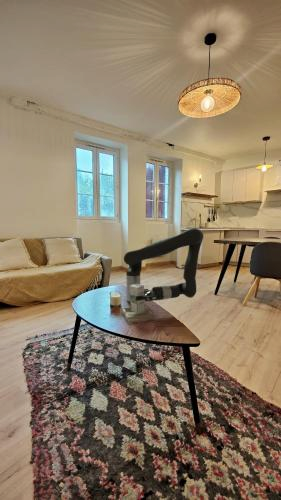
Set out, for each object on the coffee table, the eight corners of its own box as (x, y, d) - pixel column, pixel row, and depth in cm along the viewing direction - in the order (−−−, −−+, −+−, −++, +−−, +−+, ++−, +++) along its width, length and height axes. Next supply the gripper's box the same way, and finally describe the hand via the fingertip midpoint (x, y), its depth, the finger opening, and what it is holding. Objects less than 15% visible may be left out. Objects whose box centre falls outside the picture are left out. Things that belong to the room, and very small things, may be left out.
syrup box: (145, 310, 121) (144, 284, 119) (137, 313, 117) (137, 287, 115) (137, 308, 125) (136, 283, 123) (130, 311, 120) (129, 285, 119)
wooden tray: (121, 312, 126) (121, 307, 125) (145, 310, 130) (145, 305, 130) (127, 323, 113) (127, 317, 112) (153, 319, 117) (153, 314, 116)
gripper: (157, 283, 130) (130, 286, 126) (166, 290, 117) (137, 293, 112) (157, 295, 131) (130, 298, 126) (166, 303, 118) (137, 307, 113)
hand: (133, 296), depth 119 cm, fingers closed on syrup box, 8 cm apart
